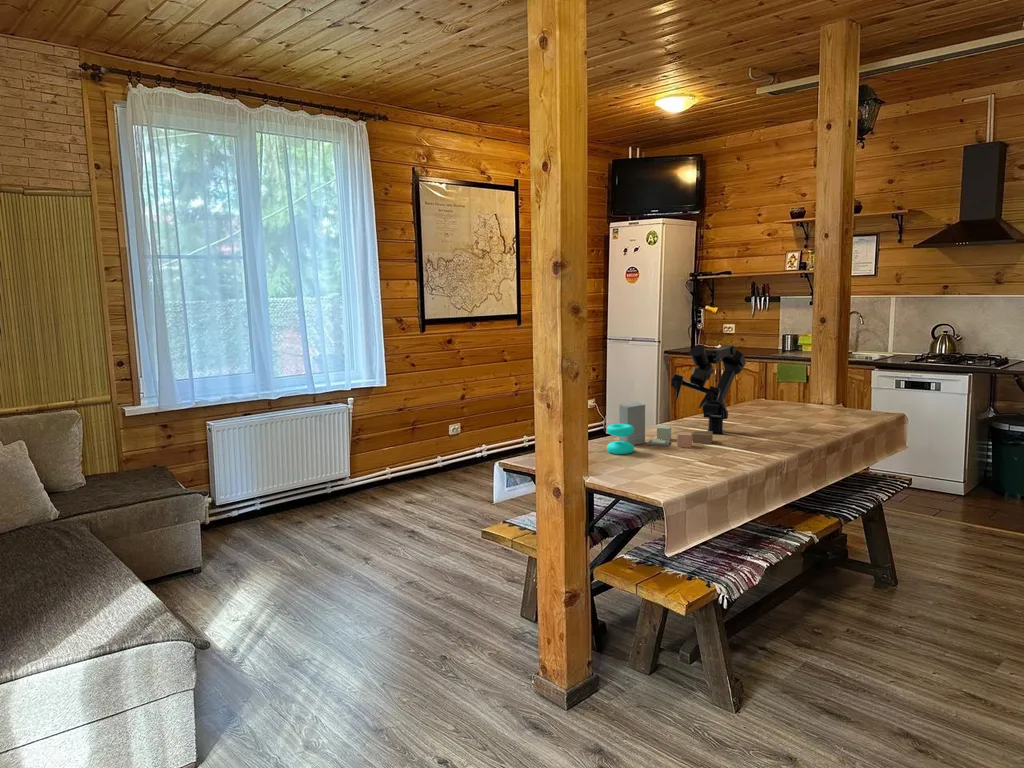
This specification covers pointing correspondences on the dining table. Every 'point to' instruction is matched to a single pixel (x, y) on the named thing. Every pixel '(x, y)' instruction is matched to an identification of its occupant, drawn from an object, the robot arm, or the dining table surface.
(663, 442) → the card
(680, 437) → the terracotta cube
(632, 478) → the dining table surface
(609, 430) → the donuts
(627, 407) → the skincare box
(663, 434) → the sage cube
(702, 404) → the robot arm
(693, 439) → the walnut block
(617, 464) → the dining table surface
